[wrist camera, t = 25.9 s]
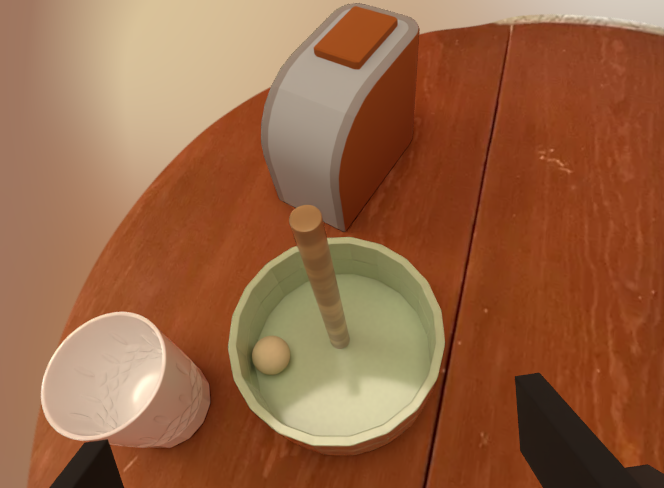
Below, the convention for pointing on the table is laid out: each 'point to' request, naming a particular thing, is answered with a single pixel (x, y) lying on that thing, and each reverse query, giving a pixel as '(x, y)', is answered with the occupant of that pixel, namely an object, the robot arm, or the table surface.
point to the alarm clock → (342, 111)
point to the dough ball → (271, 355)
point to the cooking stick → (320, 270)
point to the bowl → (340, 364)
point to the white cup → (124, 385)
